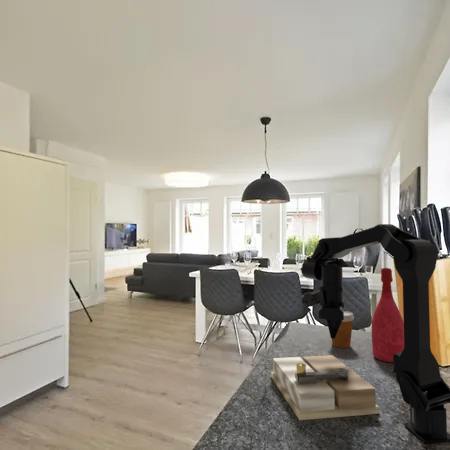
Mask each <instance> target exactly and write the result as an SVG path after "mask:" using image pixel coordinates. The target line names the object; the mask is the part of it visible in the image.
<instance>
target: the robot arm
mask: <svg viewBox="0 0 450 450" xmlns="http://www.w3.org/2000/svg"><path fill="white" fill-rule="evenodd" d="M377 244H378V245H379V244H380V245H381V247H382V249H383V250H384V251H385V252H386V253H387V254H388V255H390V256H392V257H393V258H392V259H393V264H394V269H395V270H396V273H397V274H398V276H399V277H400V280H401V282H402V308H403V309H402V311H403V312H402V314H403V316H402V319H403V323H404V348H403V350H402V352H400V353H396V354H394V356H393V360H394V363H393V370H392V373H393V374H395V380H396V383H397V384H398V387H399V390H400V394H401V397H402V399H403V402H404V403H406V404H408V405H409V413H410V414H409V416H410V421H408V422H407V421H406V422H404V427H406V428H407V429H408V430H409V431H410V432H412V433H413V434H414V435H415V436H416V437H417V438H419V439H420V440H421V441H423V443H426V444H431V443H442V442H450V433H449V432H448V425H447V424H448V420H447V416H448V415H447V408H445V405H447V404H450V387H449V386H448V384H447V383H446V382H445V380H444V379H443V378H442V376H441V373H440V366H439V362H438V360H437V358H436V357H435V355H434V353H433V352H432V348H431V323H430V322H431V321H430V319H431V318H430V285H429V283H430V280H431V278H432V276H433V274H434V272H435V270H436V267H437V261H438V249H437V247H436V245H434V243H432V242H431V241H429V240H426V239H421V238H419V237H417V236H416V235H413V234H411V233H410V232H407V231H405V230H403V229H400V228H399V227H398V226H396V225H395V224H391V223H389V224H388V223H384V224H383V223H380V224H379V223H378V224H376V225H375V226H373V227H369V228H366V229H363V230H359V231H357V232H354V233H351V234H348V235H345V236H340V237H339V236H338V237H322V238H320V239H319V240H318V243H317V245H316V247H315V249H314V251H313V253H312V255H311V256H307V257H306V259H305V261H304V262H303V263H302V266H301V267H300V268H301V269H300V271H301V275H302V276H303V278H305V279H308V280H313V281H314V280H315V281H321V286H320V287H319V290H315V291H312V292H311V291H308V292H305V293H304V294H302V296H301V297H300V299H301V304H303V307H304V309H307V308H310V307H311V306H315V305H318V304H319V306H320V307H319V309H318V319H320V320H325V321H326V323H327V327H328V328H327V329H328V331H329V337H330V339H331V340H332V339H335V337H336V335H337V332H338V330H339V327H340V325H341V322H342V320H344V311H345V310H344V309H345V300H344V292H343V291H344V284H343V280H344V279H343V276H344V275H343V268H349V264H348V263H347V262H345V260H344V259H343V257H346V256H349V254H351V252H352V251H355V250H358V249H362V248H366V247H369V246H373V245H377Z"/></svg>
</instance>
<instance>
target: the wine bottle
mask: <svg viewBox="0 0 450 450" xmlns="http://www.w3.org/2000/svg"><path fill="white" fill-rule="evenodd" d="M392 273H393V270H392V269H391V268H390V267H382V268H381V269H380V275H381V276H380V280H381V283H382V285H381V294H380V297H379V301H378V303H377V305H376V306H375V309H374V312H373V315H372V319H371V346H372V355H373V357H374V358H375V359H377V360H379V361H382V362H384V363H385V362H386V363H391V364H394V360H393V356H394V354H396V353H400V352H402V350H403V348H404V321H403V316H402V315H401V312H400V309H399V308H398V306H397V304H396V301H395V299H394V296H393V292H392V283H393V274H392Z"/></svg>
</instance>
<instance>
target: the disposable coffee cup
mask: <svg viewBox="0 0 450 450" xmlns="http://www.w3.org/2000/svg"><path fill="white" fill-rule="evenodd" d="M354 319H355V317H354V313H353V312H350V311H345V310H344V320H342V322H341V325H340V327H339V330H338V332H337V335H336V337H335V339H332V338H331V344H332V346H333V347H335V348H339V349H347V348H351V341H352V340H351V339H352V333H353V323H354Z"/></svg>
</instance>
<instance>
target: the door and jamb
mask: <svg viewBox="0 0 450 450" xmlns="http://www.w3.org/2000/svg"><path fill="white" fill-rule="evenodd" d="M298 363H302V364H305V365H306V372H320V371H336V369H338V368H343V369H346V370H348V379H346V380H343V379H324V380H316V377H315V376H304V377H299V381H297V380H296V378H295V373H297V366H296V364H298ZM272 368H273V369H272V371H270V378H271V380H273V382H274V384H275V385H276V386H277V389H279V392H280V393H281V394H282V396H283V397H284V399H285V400H286V402H287V404H288V405H289V407H290V408H291V410H292V411H293V412H294V414H295V416H296V417H297V419H298V420H299V421H305V420H307V421H308V420H318V419H320V420H321V419H329V418H330V419H331V418H332V419H333V418H342V417H354V416H367V415H377V414H380V407H379V405H377V403H376V402H377V401H376V399H377V397H376V388H375V387H374V386H373V385H372V384H371V383H370V382H368V381H366V380H365V379H364V378H363V377H361V375H359V374H358V373H356V372H355V371H354V370H352V369H351V368H350V367H348V366H347V365H345V364H344V363H343V362H342V361H341V360H339V359H337V357H335V356H334V355H332V354H328V355H311V356H302V358H301V357H300V356H291V357H276V358H275V357H273V358H272Z"/></svg>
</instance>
